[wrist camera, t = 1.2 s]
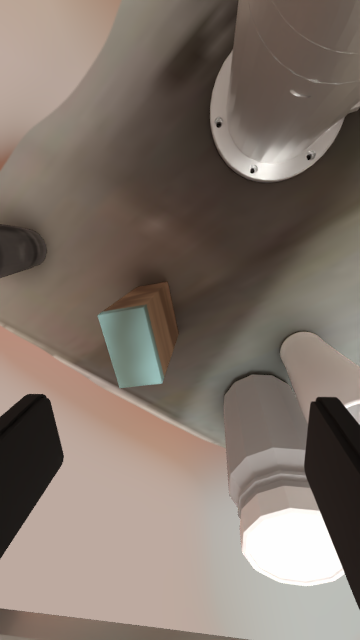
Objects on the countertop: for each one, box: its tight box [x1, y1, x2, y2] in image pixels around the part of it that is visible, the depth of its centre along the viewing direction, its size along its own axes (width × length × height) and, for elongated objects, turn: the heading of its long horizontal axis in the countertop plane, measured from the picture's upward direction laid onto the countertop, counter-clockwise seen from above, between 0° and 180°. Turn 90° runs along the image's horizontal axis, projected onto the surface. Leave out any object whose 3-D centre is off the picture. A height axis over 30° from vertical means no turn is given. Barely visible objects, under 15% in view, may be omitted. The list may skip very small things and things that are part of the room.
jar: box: [224, 375, 345, 586], centre depth 27 cm, size 10×10×18 cm
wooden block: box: [98, 281, 179, 388], centre depth 28 cm, size 4×7×12 cm, turn 11°
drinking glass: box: [280, 332, 360, 425], centre depth 26 cm, size 7×7×15 cm
